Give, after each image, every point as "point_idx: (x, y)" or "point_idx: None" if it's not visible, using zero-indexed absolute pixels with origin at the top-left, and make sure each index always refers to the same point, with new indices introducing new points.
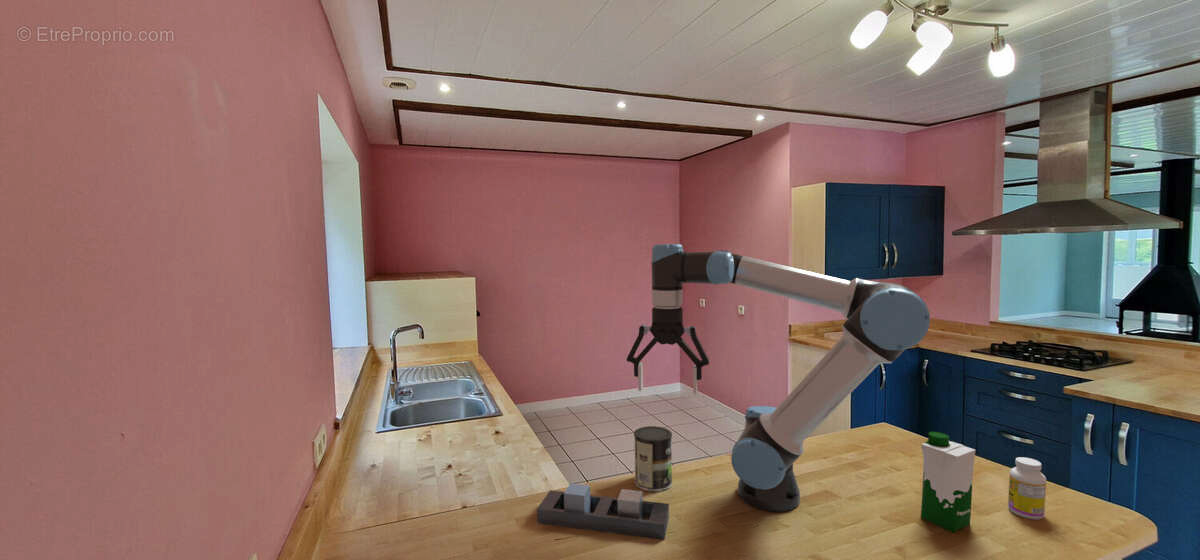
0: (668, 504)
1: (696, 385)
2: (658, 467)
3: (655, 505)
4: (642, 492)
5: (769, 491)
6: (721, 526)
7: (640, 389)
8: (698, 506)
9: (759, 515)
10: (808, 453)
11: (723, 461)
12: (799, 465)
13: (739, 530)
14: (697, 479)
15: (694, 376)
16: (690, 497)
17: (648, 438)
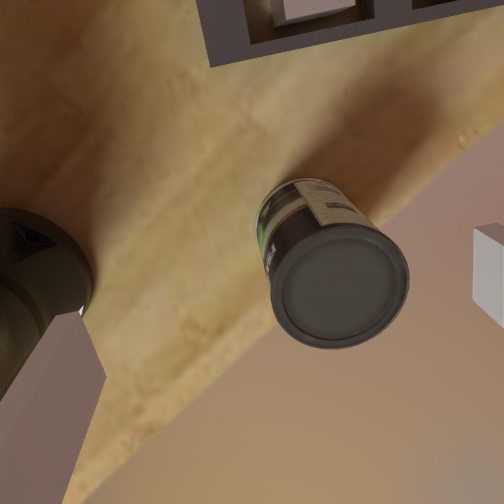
0: (209, 62)
1: (33, 363)
2: (287, 208)
3: (243, 40)
4: (285, 19)
5: None
6: (70, 85)
7: (485, 230)
8: (158, 159)
9: (4, 180)
10: None
11: (171, 392)
12: None
13: (22, 86)
14: (203, 286)
15: (10, 414)
16: (191, 194)
17: (344, 244)
